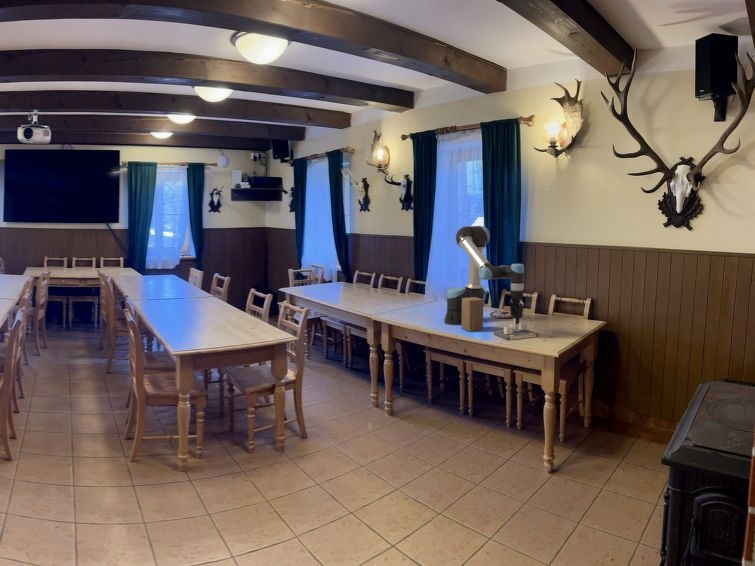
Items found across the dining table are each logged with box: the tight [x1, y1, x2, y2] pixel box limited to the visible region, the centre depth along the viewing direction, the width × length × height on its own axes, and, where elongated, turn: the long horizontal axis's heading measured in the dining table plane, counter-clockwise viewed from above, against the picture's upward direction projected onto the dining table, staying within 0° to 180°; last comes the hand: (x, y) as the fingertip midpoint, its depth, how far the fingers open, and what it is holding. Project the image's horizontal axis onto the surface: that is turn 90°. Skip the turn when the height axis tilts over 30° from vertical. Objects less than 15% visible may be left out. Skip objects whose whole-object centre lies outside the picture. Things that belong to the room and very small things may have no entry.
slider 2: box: [519, 322, 528, 330], centre depth 313 cm, size 3×4×4 cm
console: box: [493, 329, 539, 341], centre depth 309 cm, size 14×22×2 cm, turn 110°
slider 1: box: [503, 325, 513, 335], centre depth 304 cm, size 3×4×4 cm
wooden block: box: [461, 297, 484, 333], centre depth 324 cm, size 10×10×20 cm
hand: (516, 328), depth 308 cm, fingers closed
